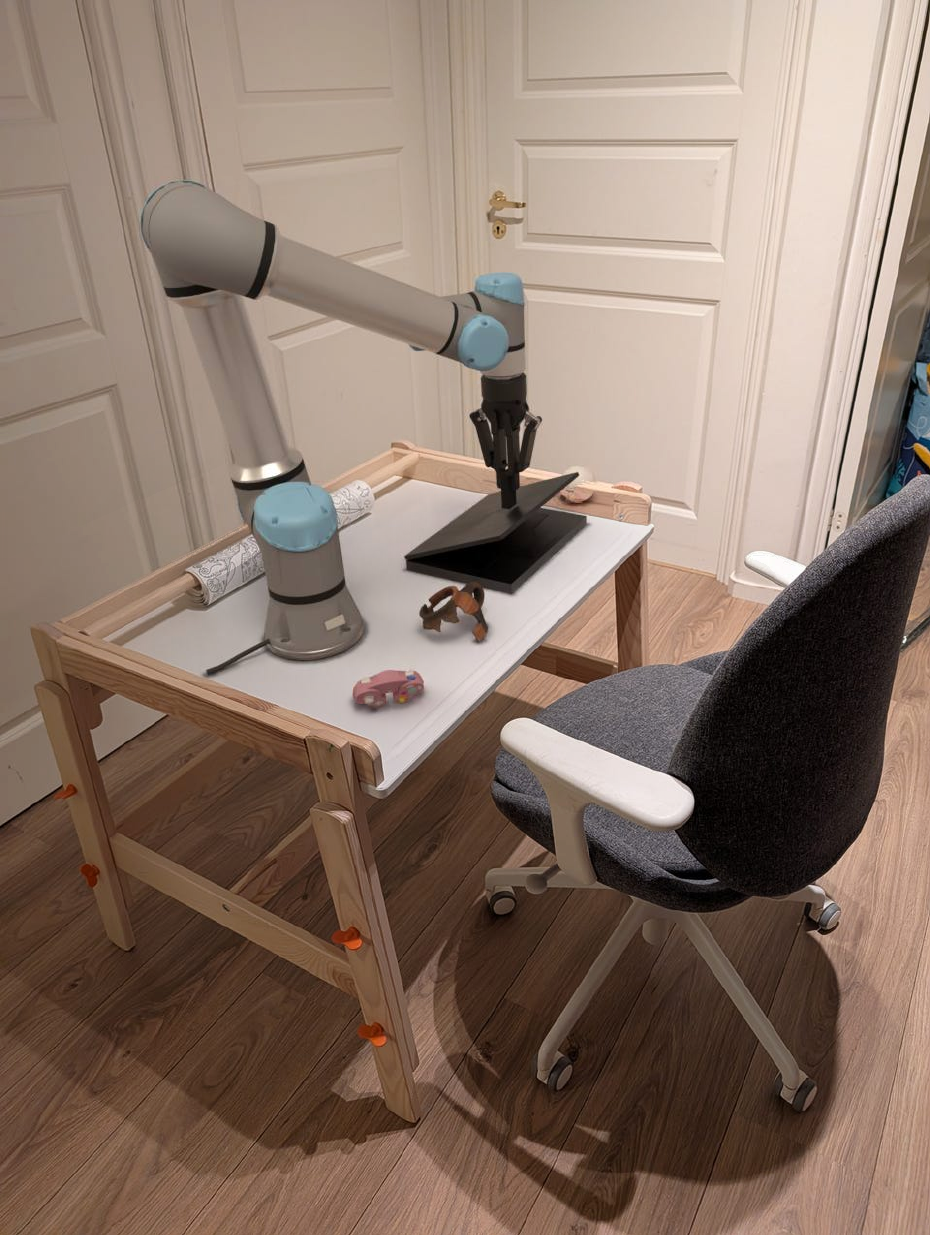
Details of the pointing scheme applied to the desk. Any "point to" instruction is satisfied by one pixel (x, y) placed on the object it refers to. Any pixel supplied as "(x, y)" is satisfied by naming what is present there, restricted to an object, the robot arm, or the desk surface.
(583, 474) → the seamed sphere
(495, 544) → the laptop
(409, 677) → the video game controller
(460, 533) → the laptop screen
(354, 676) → the desk surface
